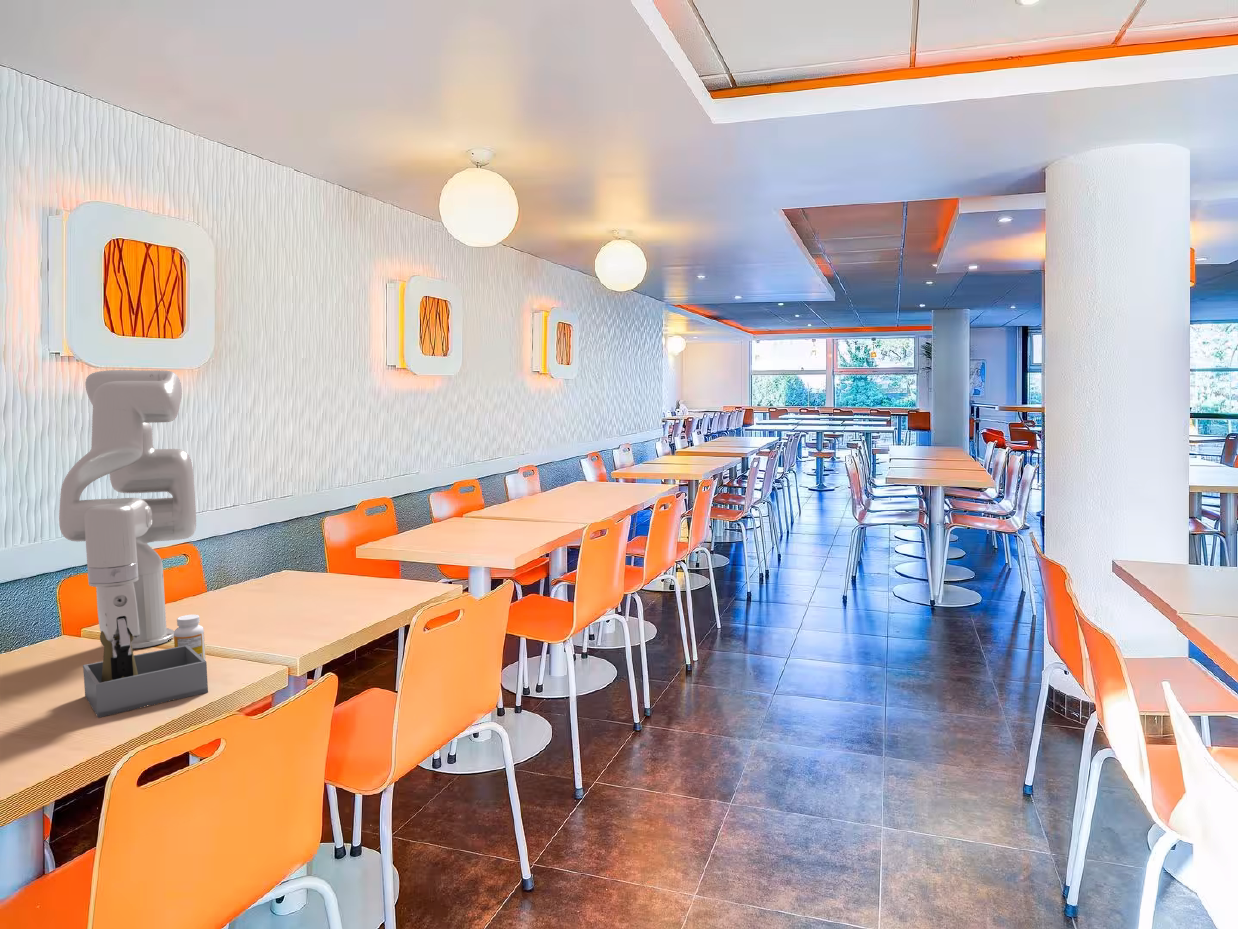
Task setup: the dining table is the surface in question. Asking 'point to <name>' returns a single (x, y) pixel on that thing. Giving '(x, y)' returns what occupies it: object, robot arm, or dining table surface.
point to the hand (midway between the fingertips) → (119, 673)
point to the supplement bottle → (190, 634)
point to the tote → (147, 681)
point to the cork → (108, 655)
